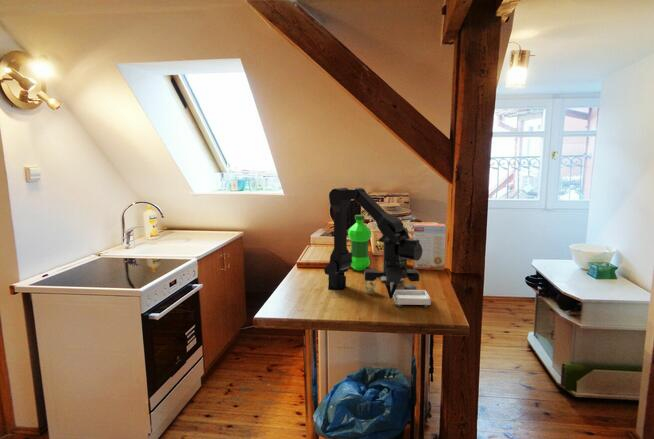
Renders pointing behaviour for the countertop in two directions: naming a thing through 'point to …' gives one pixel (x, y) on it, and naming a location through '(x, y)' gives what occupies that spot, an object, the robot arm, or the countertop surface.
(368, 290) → the small wooden cylinder
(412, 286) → the grey small block
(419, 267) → the cracker box
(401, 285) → the walnut block
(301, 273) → the countertop surface
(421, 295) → the white shallow tray
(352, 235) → the plastic bottle
